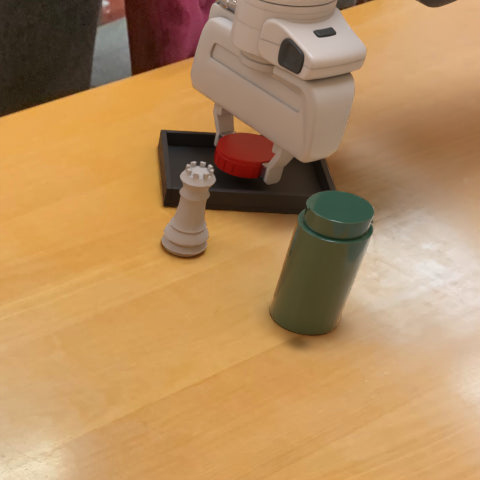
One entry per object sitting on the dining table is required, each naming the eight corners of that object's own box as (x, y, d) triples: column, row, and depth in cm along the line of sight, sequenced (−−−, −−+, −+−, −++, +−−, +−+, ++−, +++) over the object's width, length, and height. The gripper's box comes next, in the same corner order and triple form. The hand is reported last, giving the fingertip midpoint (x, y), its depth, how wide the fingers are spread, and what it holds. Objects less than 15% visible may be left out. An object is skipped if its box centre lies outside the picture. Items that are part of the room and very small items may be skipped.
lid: (237, 183, 91) (242, 166, 90) (201, 155, 95) (204, 139, 94) (289, 171, 93) (294, 154, 92) (251, 144, 97) (255, 127, 96)
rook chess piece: (213, 256, 86) (232, 178, 80) (168, 260, 85) (184, 181, 79) (197, 232, 89) (215, 154, 83) (154, 235, 88) (168, 157, 82)
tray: (312, 155, 100) (317, 137, 98) (333, 216, 91) (339, 198, 89) (157, 146, 101) (160, 129, 99) (163, 206, 92) (166, 188, 90)
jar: (331, 297, 81) (371, 189, 74) (344, 337, 77) (387, 228, 70) (265, 293, 82) (297, 185, 74) (274, 333, 78) (309, 223, 70)
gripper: (190, -8, 89) (166, 128, 100) (324, 69, 77) (281, 215, 87) (242, -16, 91) (213, 118, 101) (381, 57, 79) (332, 202, 89)
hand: (245, 164), depth 94 cm, fingers closed on lid, 6 cm apart
